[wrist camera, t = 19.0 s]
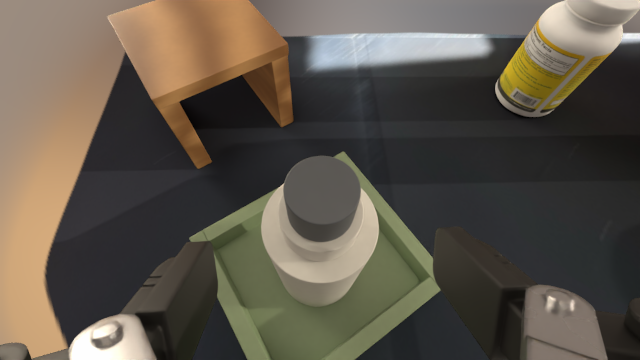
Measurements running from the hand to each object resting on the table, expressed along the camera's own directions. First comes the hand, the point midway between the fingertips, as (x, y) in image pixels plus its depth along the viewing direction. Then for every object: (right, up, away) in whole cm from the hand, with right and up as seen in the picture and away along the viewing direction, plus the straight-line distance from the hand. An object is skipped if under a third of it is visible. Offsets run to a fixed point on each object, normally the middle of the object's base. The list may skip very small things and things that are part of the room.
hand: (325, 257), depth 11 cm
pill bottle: (+21, +11, +21) cm, 32 cm away
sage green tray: (0, -4, +12) cm, 13 cm away
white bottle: (0, -3, +11) cm, 12 cm away
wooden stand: (-10, +10, +20) cm, 24 cm away
